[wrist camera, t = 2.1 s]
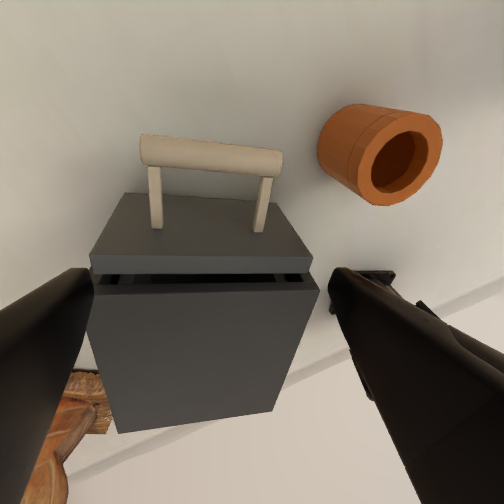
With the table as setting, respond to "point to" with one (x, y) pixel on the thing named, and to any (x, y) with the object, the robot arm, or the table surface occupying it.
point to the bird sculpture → (67, 437)
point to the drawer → (200, 223)
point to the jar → (380, 151)
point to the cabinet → (195, 347)
